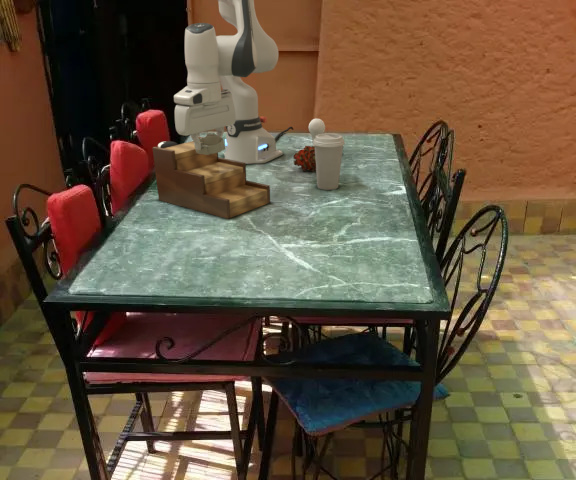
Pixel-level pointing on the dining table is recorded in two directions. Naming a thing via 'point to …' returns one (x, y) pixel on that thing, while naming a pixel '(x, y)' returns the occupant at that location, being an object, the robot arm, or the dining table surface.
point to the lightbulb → (316, 128)
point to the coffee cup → (328, 159)
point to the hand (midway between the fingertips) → (208, 146)
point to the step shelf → (206, 182)
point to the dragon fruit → (306, 158)
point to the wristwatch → (211, 144)
